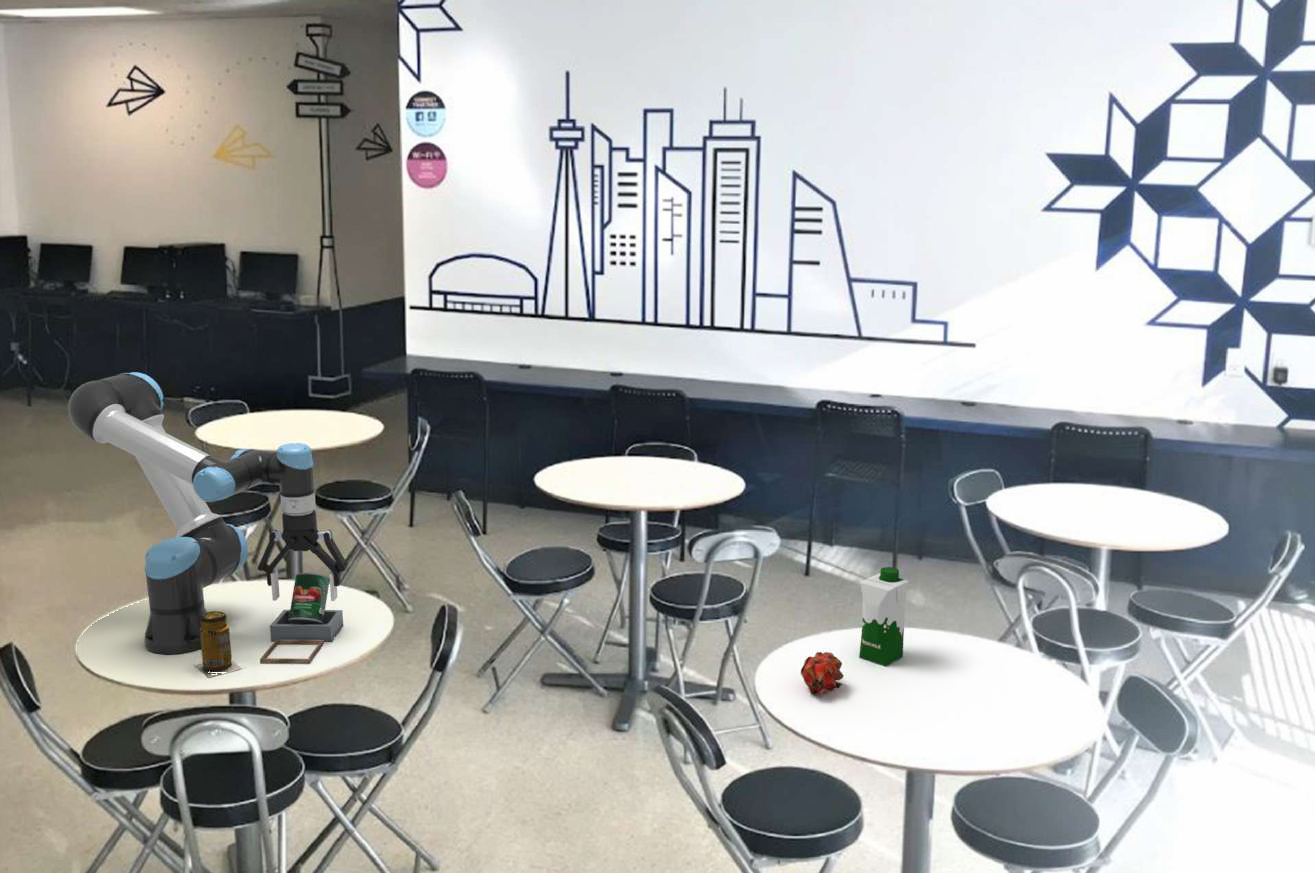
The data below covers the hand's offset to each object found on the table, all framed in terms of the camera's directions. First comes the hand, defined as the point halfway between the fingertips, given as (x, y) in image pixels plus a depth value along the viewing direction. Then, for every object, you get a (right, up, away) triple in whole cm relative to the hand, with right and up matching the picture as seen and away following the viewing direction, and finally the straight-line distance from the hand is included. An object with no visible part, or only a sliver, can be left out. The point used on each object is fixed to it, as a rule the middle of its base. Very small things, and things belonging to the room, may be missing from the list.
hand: (305, 598), depth 285 cm
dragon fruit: (+116, -16, -28) cm, 121 cm away
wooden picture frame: (0, -11, -9) cm, 14 cm away
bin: (0, -8, +2) cm, 9 cm away
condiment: (-14, -13, -16) cm, 25 cm away
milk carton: (+132, -12, -11) cm, 133 cm away
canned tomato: (0, -6, 0) cm, 6 cm away
